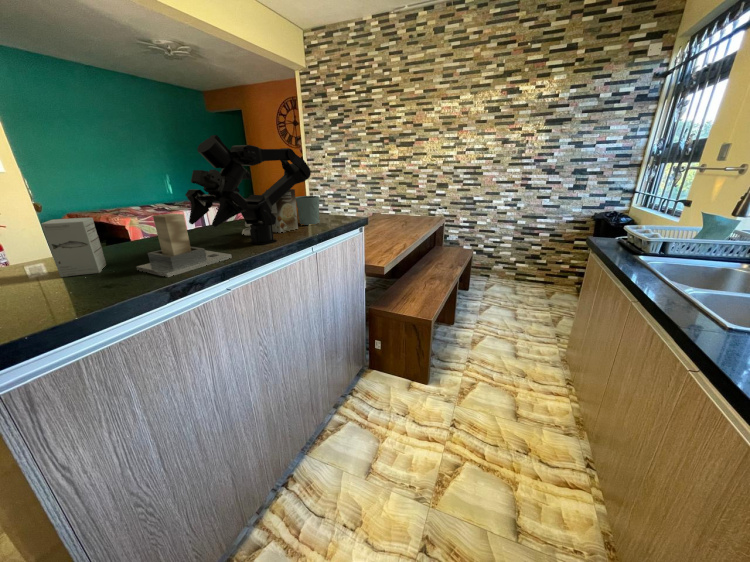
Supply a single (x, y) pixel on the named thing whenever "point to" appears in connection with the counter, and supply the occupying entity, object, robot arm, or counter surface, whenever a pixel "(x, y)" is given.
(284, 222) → the coffee box
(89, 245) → the supplement box
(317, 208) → the grey tapered cup
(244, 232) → the hook
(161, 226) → the square peg
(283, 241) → the counter surface
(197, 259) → the socket plate
